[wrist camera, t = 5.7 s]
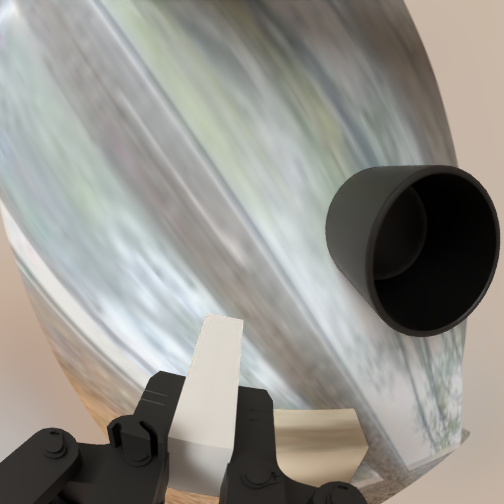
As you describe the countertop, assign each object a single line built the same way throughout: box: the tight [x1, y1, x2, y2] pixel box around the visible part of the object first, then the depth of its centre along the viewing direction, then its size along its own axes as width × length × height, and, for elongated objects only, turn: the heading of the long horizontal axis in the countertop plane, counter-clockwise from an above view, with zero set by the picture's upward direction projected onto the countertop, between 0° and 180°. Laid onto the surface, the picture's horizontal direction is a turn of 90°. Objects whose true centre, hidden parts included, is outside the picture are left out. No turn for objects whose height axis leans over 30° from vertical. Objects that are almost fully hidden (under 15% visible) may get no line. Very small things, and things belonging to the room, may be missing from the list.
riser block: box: [273, 408, 369, 488], centre depth 25 cm, size 12×12×6 cm
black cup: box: [326, 165, 500, 337], centre depth 17 cm, size 9×12×9 cm
